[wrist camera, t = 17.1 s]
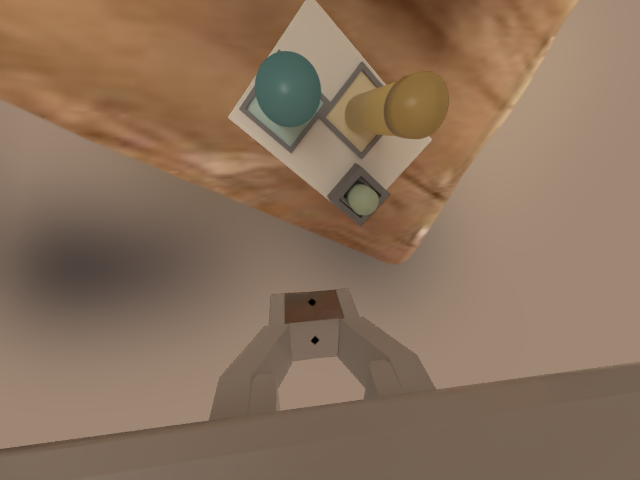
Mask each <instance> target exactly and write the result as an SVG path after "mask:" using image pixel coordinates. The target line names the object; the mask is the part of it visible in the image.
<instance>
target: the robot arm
mask: <svg viewBox="0 0 640 480" xmlns="http://www.w3.org/2000/svg"><path fill="white" fill-rule="evenodd" d="M335 356H338V358H339V359H340V360H341V361H342V362H343V364H344V365H345V366H346V367H347V368H348V369H349V370H350V371H351V373H353V375H354V376H355V377H356V378H357V379H358V381H359V382H360V383H361V384H362V385H363V386H364V387H365V395H364V400H356V401H349V402H342V403H334V404H327V405H320V406H312V407H305V408H298V409H291V410H283V411H280V405H279V396H278V388H279V386H280V384H281V382H282V380H283V379H284V377H285V375H286V373H287V371H288V369H289V368H290V366H291V364H292V361H298V360H306V359H312V358H323V357H335ZM0 480H640V362H634V363H627V364H620V365H613V366H605V367H598V368H591V369H583V370H576V371H568V372H561V373H554V374H546V375H539V376H532V377H525V378H517V379H510V380H502V381H495V382H488V383H481V384H473V385H466V386H458V387H451V388H444V389H436V388H435V387H434V385H433V383H432V381H431V379H430V377H429V375H428V374H427V372H426V370H425V368H424V367H423V365H422V363H421V361H420V359H419V358H418V356H417V355H416V354H415V353H414V352H412V351H411V350H409V349H408V348H407V347H405V346H404V345H402V344H401V343H399V342H398V341H397V340H395V339H394V338H392V337H391V336H390V335H388V334H387V333H385V332H384V331H383V330H381V329H380V328H378V327H377V326H375V325H374V324H373V323H371V322H370V321H368V320H367V319H366V318H364V317H359V315H358V312H357V310H356V307H355V304H354V302H353V299H352V297H351V294H350V292H349V289H348V288H344V289H335V290H327V291H315V292H299V293H285V294H272V295H271V298H270V313H269V326H264V327H263V329H262V330H261V331H260V332H259V333H258V334H257V335H256V337H255V338H254V339H253V340H252V341H251V342H250V343H249V344H248V346H247V347H246V348H245V349H244V350H243V351H242V352H241V354H240V355H239V356H238V357H237V358H236V359H235V360H234V362H233V363H232V364H231V365H230V366H229V367H228V368H227V370H226V371H225V372H224V373H223V374H222V375H221V376H220V378H219V381H218V385H217V389H216V394H215V397H214V402H213V406H212V410H211V414H210V418H209V421H202V422H195V423H187V424H181V425H173V426H165V427H158V428H151V429H143V430H136V431H129V432H121V433H114V434H107V435H100V436H93V437H85V438H78V439H70V440H63V441H55V442H48V443H41V444H34V445H26V446H19V447H12V448H4V449H0Z"/></svg>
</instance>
